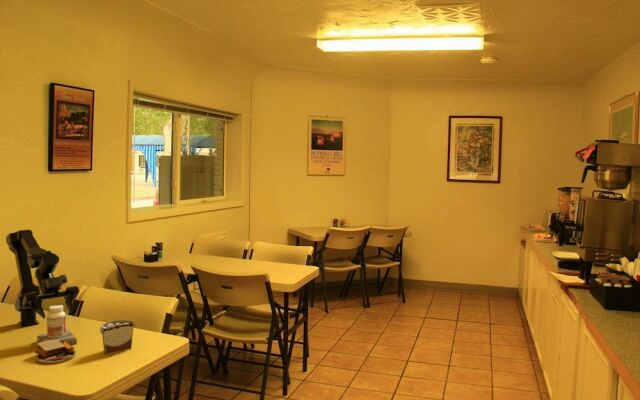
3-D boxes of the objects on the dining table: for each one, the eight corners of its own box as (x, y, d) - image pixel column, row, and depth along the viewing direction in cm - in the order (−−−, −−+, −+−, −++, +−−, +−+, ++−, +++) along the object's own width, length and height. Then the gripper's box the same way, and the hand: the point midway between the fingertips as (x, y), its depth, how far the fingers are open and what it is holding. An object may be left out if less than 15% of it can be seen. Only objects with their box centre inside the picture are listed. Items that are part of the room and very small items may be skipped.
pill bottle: (56, 332, 198) (56, 303, 197) (69, 334, 196) (69, 305, 195) (43, 337, 192) (42, 307, 191) (56, 339, 190) (56, 309, 189)
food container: (127, 343, 195) (127, 317, 195) (135, 347, 191) (135, 321, 190) (94, 351, 187) (94, 323, 186) (101, 356, 182) (101, 327, 182)
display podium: (37, 341, 195) (36, 334, 195) (69, 335, 202) (68, 329, 202) (43, 350, 186) (43, 343, 186) (76, 343, 193) (76, 337, 193)
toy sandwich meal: (42, 368, 171) (41, 354, 171) (30, 356, 181) (29, 343, 181) (81, 359, 180) (81, 345, 180) (68, 348, 190) (68, 335, 189)
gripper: (24, 271, 188) (35, 308, 181) (77, 265, 201) (90, 298, 195) (17, 289, 194) (28, 325, 187) (69, 281, 207) (81, 315, 201)
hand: (57, 315), depth 192 cm, fingers open, 9 cm apart
